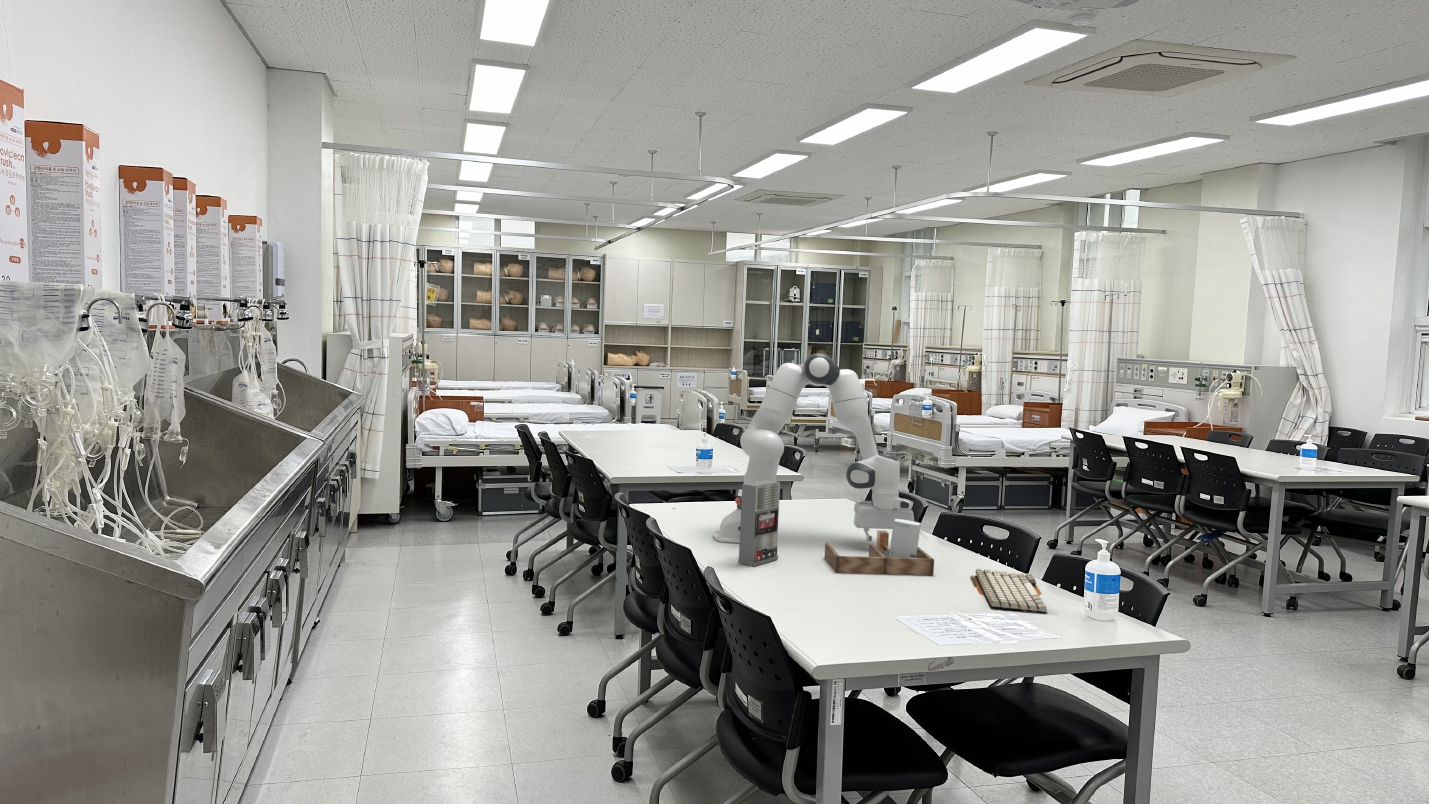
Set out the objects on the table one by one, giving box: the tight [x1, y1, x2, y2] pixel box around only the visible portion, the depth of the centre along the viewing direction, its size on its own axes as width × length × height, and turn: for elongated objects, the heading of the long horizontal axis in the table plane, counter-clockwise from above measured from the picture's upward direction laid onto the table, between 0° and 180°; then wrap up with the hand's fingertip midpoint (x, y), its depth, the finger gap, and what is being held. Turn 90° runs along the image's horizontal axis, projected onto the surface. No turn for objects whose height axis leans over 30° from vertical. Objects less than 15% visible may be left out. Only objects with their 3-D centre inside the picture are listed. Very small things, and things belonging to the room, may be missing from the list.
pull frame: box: [875, 529, 890, 557], centre depth 292 cm, size 12×33×6 cm, turn 3°
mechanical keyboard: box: [969, 568, 1048, 614], centre depth 257 cm, size 38×19×3 cm, turn 171°
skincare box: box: [889, 519, 922, 558], centre depth 281 cm, size 8×6×15 cm
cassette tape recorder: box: [737, 480, 781, 568], centre depth 281 cm, size 14×6×25 cm, turn 143°
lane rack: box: [823, 542, 935, 576], centre depth 283 cm, size 30×19×5 cm, turn 93°
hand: (882, 541), depth 306 cm, fingers open, 8 cm apart
